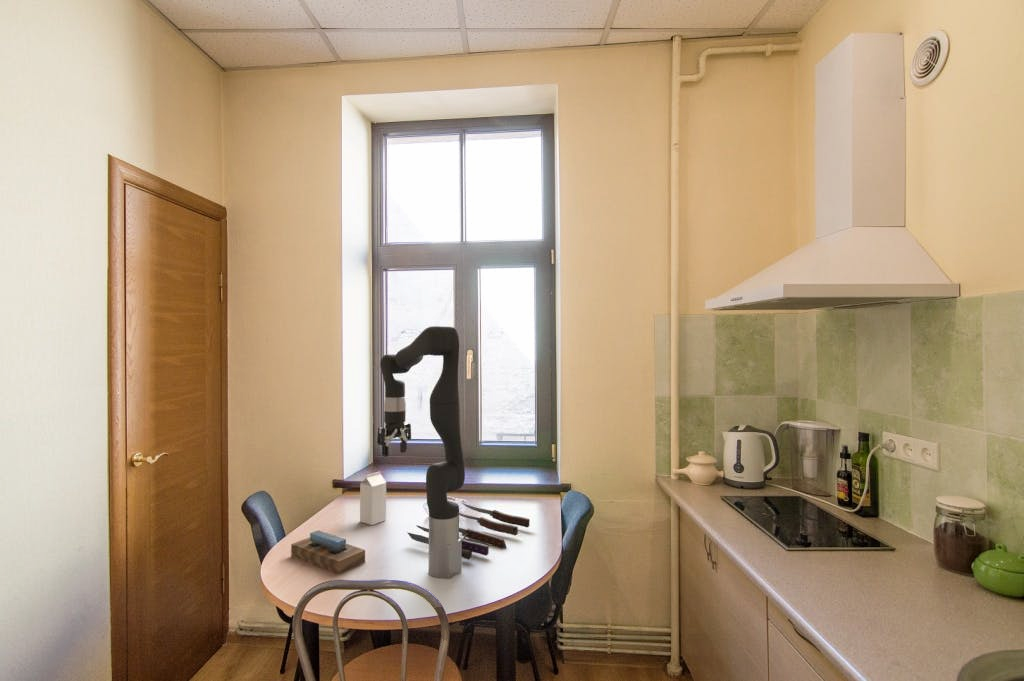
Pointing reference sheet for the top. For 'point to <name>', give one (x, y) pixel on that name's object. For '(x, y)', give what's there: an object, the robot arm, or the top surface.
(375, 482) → the milk carton
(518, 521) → the knife set
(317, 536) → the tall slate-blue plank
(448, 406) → the robot arm
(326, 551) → the socket block
